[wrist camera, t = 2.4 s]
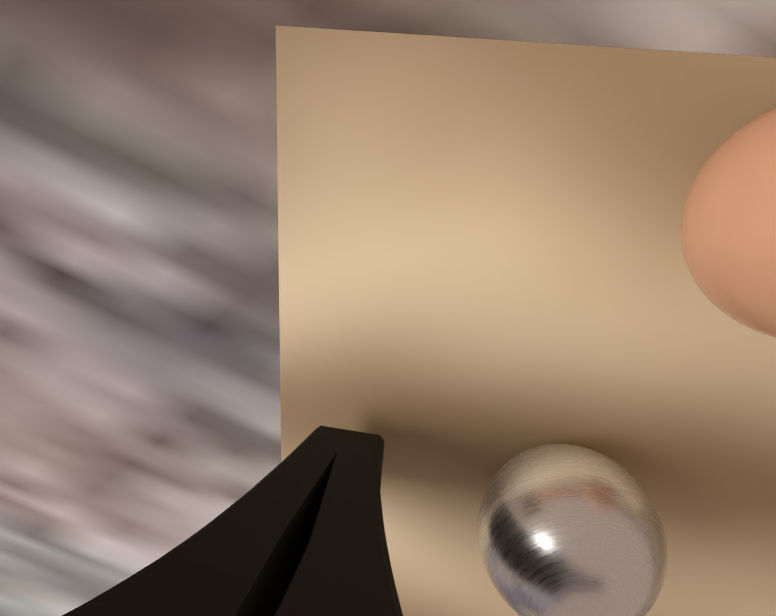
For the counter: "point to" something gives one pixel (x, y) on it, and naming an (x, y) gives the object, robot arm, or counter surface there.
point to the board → (521, 293)
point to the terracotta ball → (736, 226)
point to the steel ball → (571, 535)
